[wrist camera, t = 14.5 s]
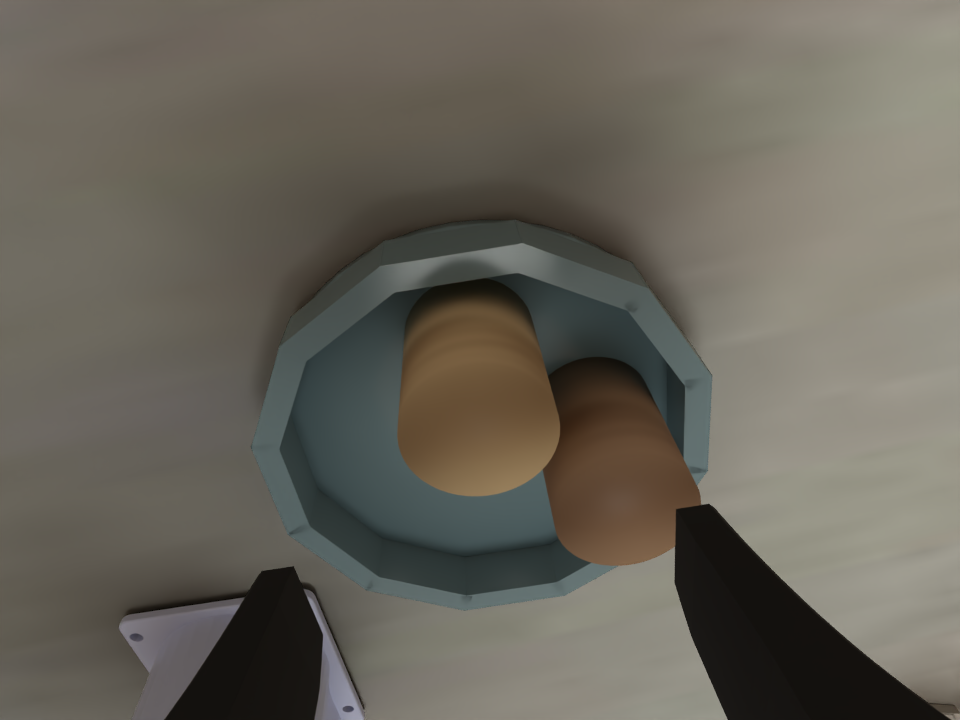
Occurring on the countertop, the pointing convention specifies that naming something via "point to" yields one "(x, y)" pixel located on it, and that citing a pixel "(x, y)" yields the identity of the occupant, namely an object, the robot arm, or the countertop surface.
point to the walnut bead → (613, 466)
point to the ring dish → (375, 408)
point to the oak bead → (474, 391)
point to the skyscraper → (948, 711)
